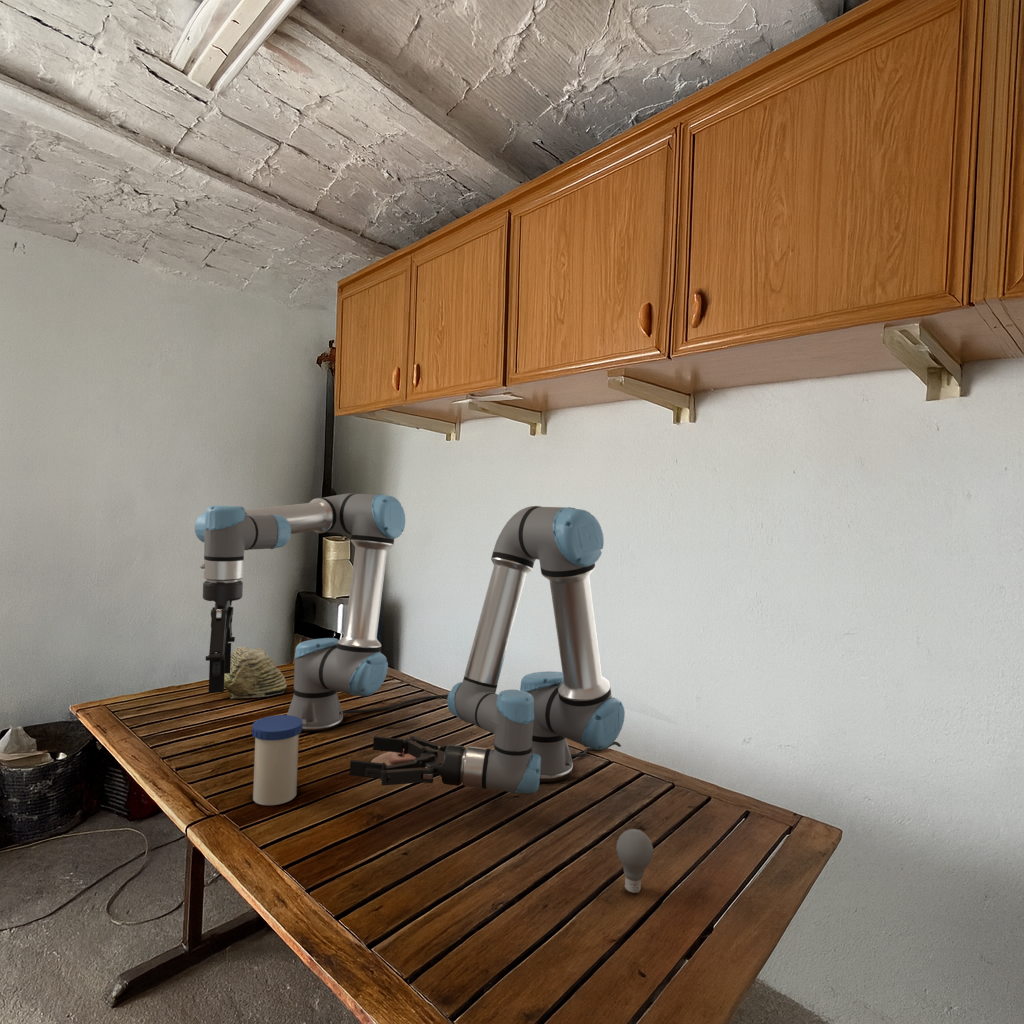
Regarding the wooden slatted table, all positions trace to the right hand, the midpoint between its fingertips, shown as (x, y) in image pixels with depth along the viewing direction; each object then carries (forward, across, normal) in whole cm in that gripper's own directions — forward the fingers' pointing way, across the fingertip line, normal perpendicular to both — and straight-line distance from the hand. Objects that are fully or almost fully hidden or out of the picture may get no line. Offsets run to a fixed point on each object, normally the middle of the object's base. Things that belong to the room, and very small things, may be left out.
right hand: (362, 754), depth 130 cm
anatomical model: (-2, +23, -10) cm, 25 cm away
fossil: (+57, +62, -10) cm, 84 cm away
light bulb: (-54, -19, -10) cm, 58 cm away
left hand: (+31, -3, +13) cm, 33 cm away
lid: (+19, 0, +4) cm, 19 cm away
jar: (+19, +1, -11) cm, 22 cm away
